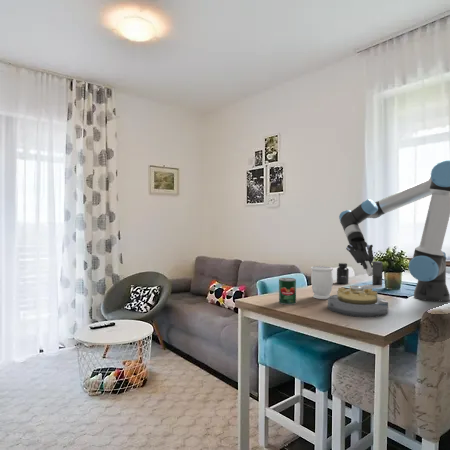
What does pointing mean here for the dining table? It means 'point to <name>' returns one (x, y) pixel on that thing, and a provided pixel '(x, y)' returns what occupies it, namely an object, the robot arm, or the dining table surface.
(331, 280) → the jar
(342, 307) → the grey serving platter
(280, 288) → the canned tomato
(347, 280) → the supplement bottle
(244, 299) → the dining table surface
